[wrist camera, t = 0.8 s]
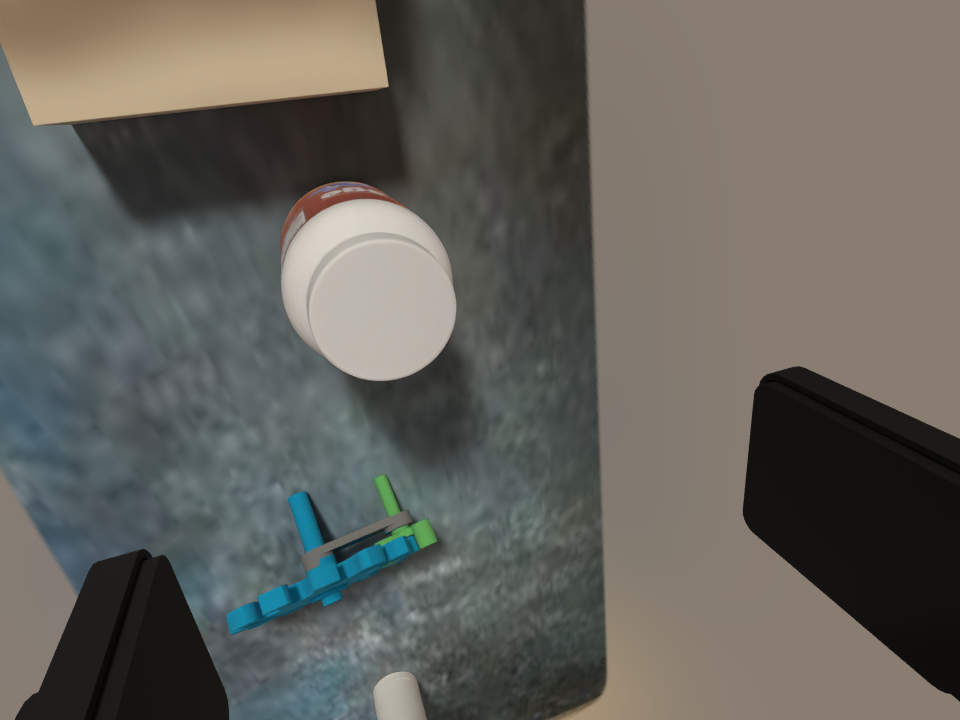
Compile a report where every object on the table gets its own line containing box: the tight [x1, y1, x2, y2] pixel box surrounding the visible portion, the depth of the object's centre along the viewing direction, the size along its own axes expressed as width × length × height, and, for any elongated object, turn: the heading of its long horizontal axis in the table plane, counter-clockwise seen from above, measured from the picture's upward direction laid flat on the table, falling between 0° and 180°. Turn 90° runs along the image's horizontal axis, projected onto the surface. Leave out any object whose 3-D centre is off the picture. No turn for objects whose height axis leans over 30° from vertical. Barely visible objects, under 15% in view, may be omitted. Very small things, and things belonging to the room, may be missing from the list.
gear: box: [226, 474, 437, 636], centre depth 31 cm, size 11×6×10 cm
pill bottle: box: [281, 181, 456, 381], centre depth 23 cm, size 6×6×11 cm
